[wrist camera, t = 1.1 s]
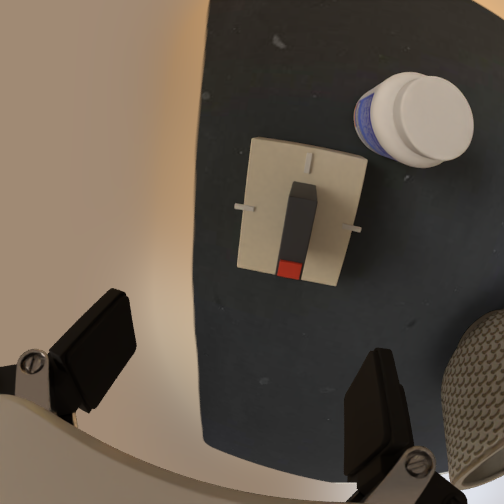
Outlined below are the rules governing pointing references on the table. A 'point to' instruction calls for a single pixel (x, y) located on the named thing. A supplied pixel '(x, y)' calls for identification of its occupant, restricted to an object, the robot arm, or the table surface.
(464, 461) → the planter
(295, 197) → the program dial
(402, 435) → the robot arm
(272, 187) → the dial panel
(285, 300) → the table surface
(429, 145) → the pill bottle
